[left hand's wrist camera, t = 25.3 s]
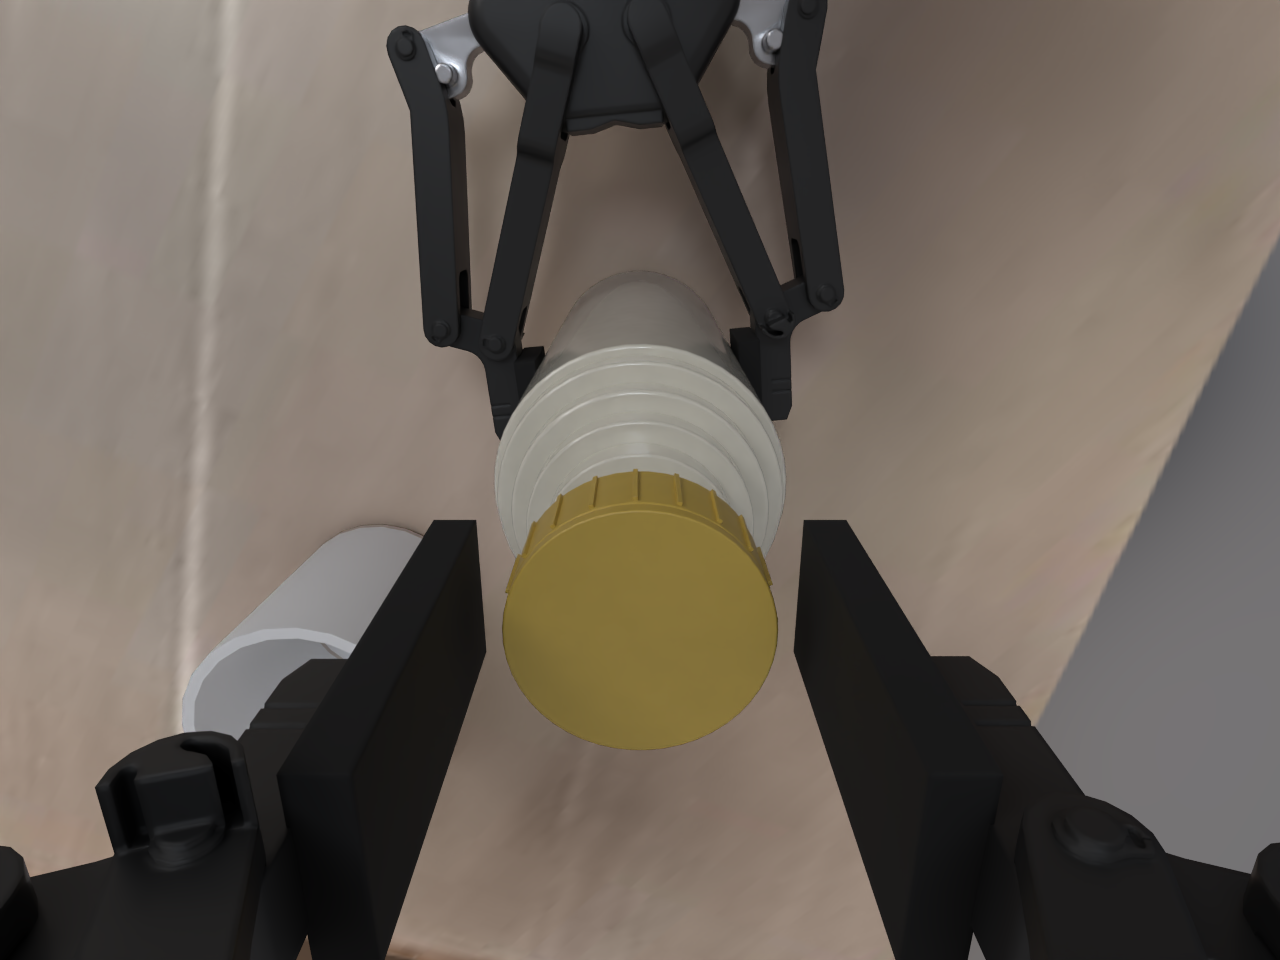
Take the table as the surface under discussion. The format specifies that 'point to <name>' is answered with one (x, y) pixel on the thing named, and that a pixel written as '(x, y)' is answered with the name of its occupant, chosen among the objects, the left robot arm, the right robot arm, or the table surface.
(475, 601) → the left robot arm
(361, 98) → the table surface
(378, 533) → the mug
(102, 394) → the table surface
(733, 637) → the cap
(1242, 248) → the table surface
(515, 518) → the bottle
